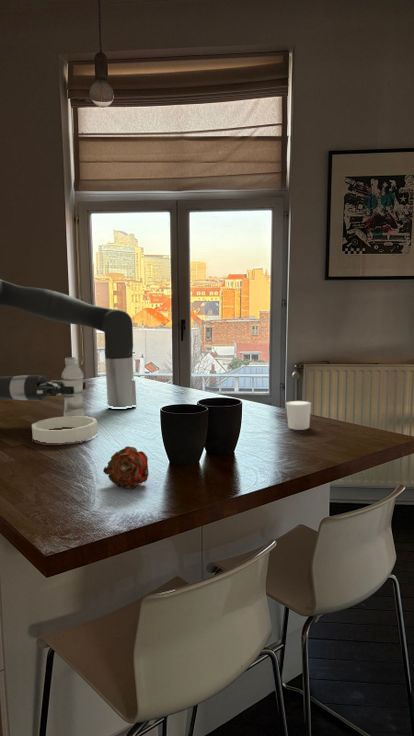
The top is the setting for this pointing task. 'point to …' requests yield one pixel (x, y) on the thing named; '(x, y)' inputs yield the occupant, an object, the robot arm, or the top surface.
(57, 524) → the top surface
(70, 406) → the plastic bottle
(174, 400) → the top surface
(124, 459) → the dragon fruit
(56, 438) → the bowl
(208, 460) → the top surface
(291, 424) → the white cup
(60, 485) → the top surface
